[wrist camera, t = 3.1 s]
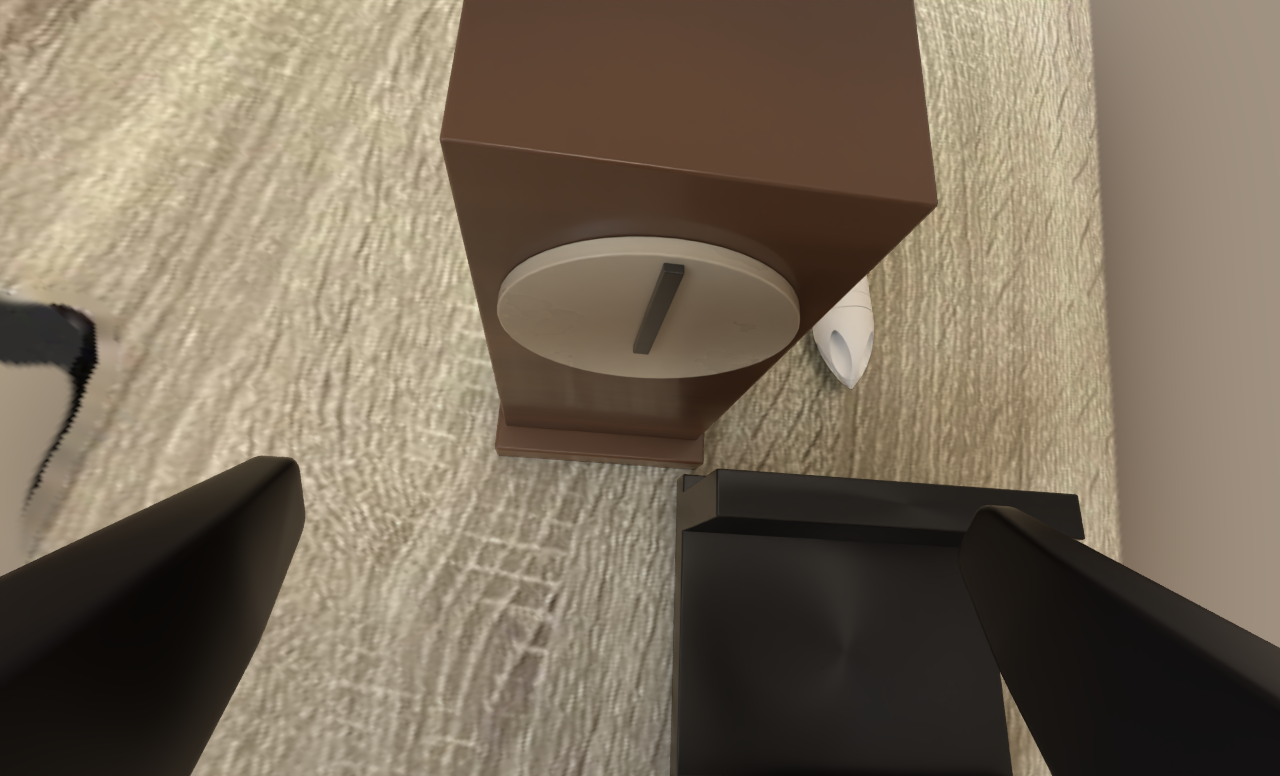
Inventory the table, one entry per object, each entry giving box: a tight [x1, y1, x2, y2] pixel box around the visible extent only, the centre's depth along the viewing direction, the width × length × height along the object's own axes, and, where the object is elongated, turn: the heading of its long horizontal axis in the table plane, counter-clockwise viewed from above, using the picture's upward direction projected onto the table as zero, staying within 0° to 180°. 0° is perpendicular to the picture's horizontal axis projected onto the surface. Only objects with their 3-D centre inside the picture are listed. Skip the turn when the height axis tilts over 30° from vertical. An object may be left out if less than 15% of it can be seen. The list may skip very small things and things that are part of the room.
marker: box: [812, 275, 874, 389], centre depth 24 cm, size 18×2×2 cm, turn 2°
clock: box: [440, 0, 938, 469], centre depth 14 cm, size 5×6×14 cm
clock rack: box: [670, 469, 1085, 776], centre depth 17 cm, size 10×10×5 cm
